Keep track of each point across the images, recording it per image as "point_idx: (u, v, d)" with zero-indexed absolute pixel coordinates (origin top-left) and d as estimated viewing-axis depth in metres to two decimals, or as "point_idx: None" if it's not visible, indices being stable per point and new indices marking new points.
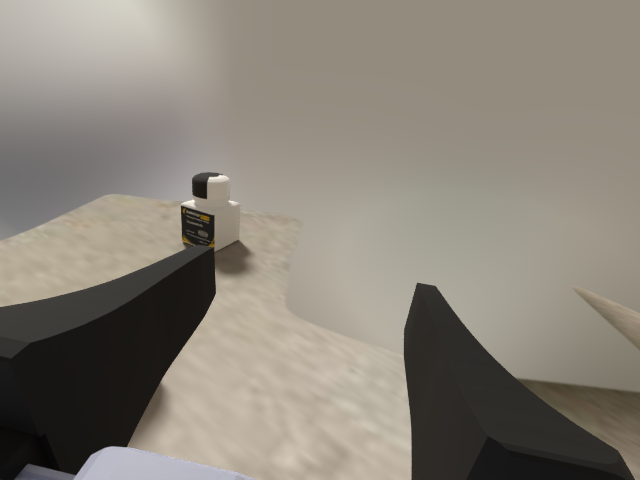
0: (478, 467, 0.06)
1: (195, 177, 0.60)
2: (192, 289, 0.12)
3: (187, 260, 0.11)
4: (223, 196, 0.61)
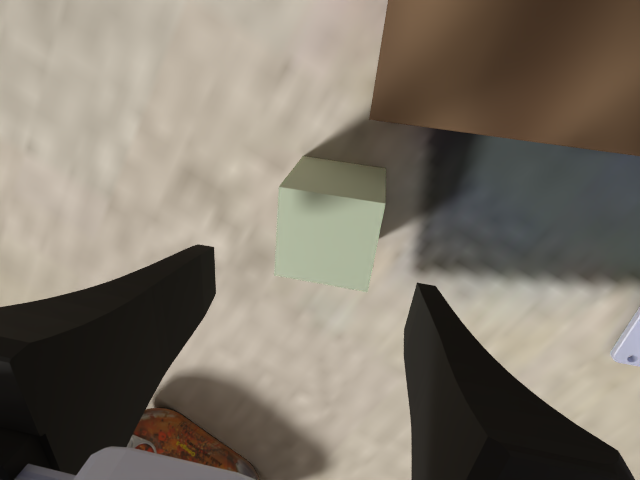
0: (478, 467, 0.06)
1: None
2: (192, 289, 0.12)
3: (187, 260, 0.11)
4: None
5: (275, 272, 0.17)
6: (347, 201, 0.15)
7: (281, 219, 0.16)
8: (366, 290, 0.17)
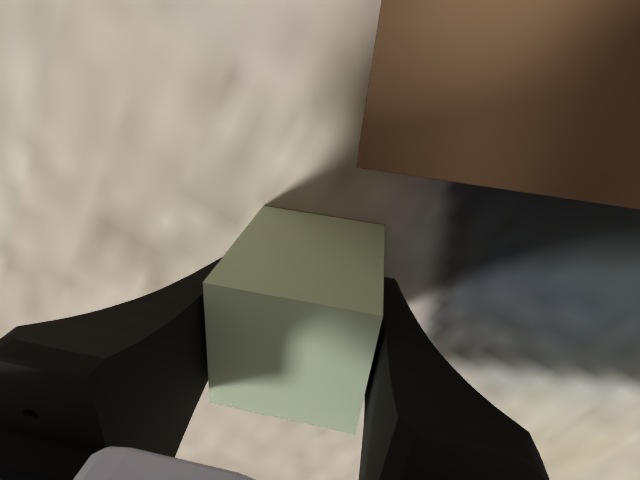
0: (393, 449, 0.06)
1: None
2: None
3: None
4: None
5: (211, 398, 0.11)
6: (318, 309, 0.09)
7: (212, 329, 0.10)
8: (353, 432, 0.11)
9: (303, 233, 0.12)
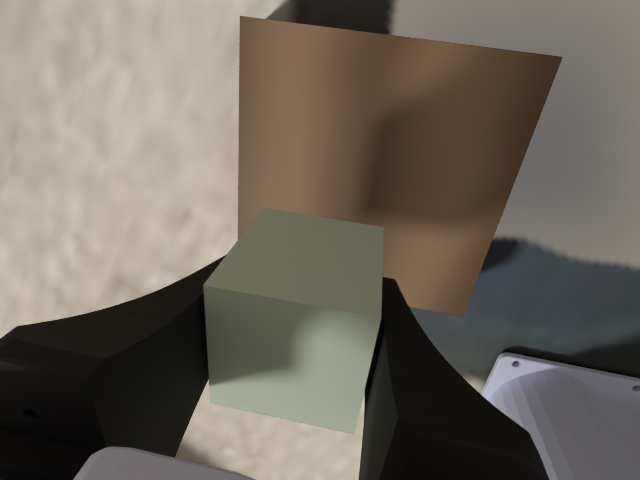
0: (392, 448, 0.06)
1: None
2: None
3: None
4: None
5: (212, 398, 0.11)
6: (317, 311, 0.09)
7: (212, 331, 0.10)
8: (352, 432, 0.11)
9: (303, 235, 0.12)
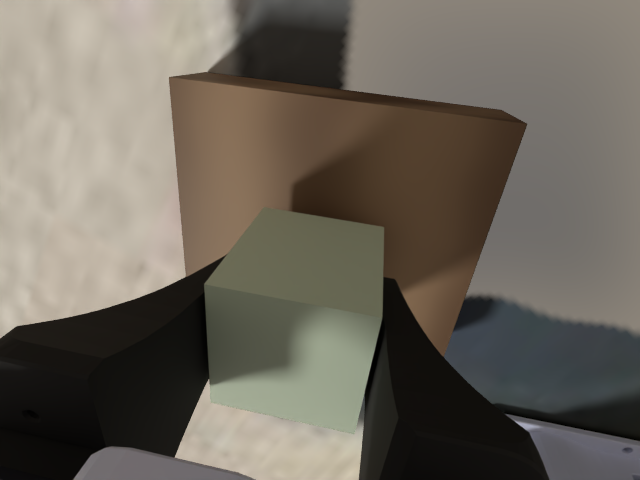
0: (393, 448, 0.06)
1: None
2: None
3: None
4: None
5: (212, 397, 0.11)
6: (318, 310, 0.09)
7: (213, 330, 0.10)
8: (352, 431, 0.11)
9: (303, 235, 0.12)
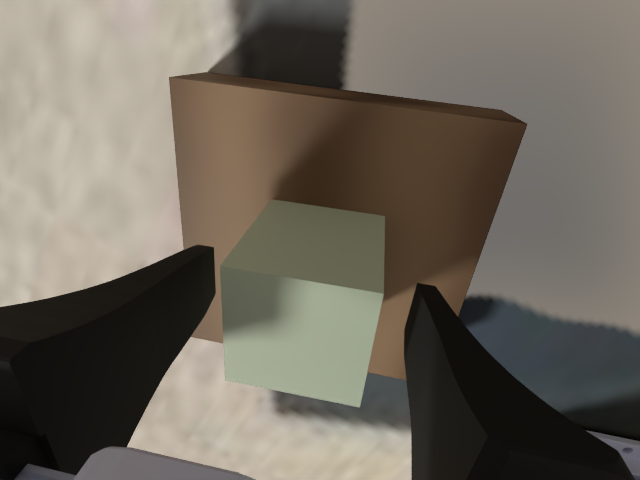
0: (478, 467, 0.06)
1: None
2: (192, 289, 0.12)
3: (187, 260, 0.11)
4: None
5: (226, 375, 0.12)
6: (325, 288, 0.10)
7: (228, 309, 0.11)
8: (358, 405, 0.11)
9: (309, 223, 0.13)
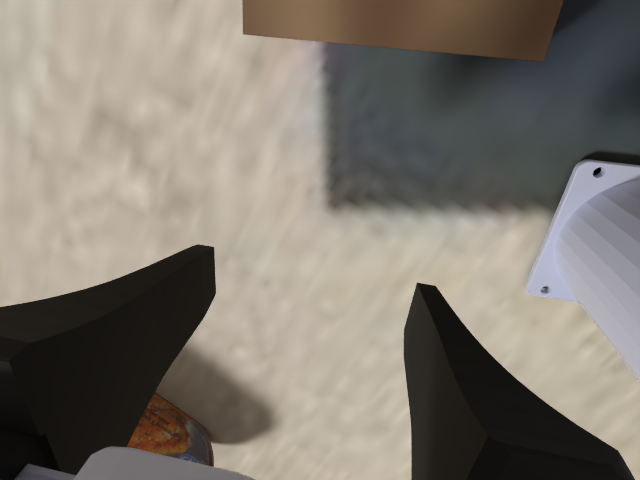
0: (478, 467, 0.06)
1: None
2: (192, 289, 0.12)
3: (187, 260, 0.11)
4: None
5: None
6: None
7: None
8: None
9: None
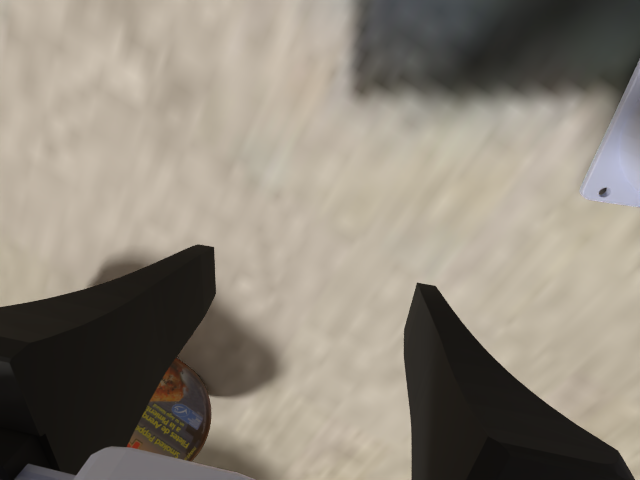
0: (478, 467, 0.06)
1: None
2: (192, 289, 0.12)
3: (187, 260, 0.11)
4: None
5: None
6: None
7: None
8: None
9: None
